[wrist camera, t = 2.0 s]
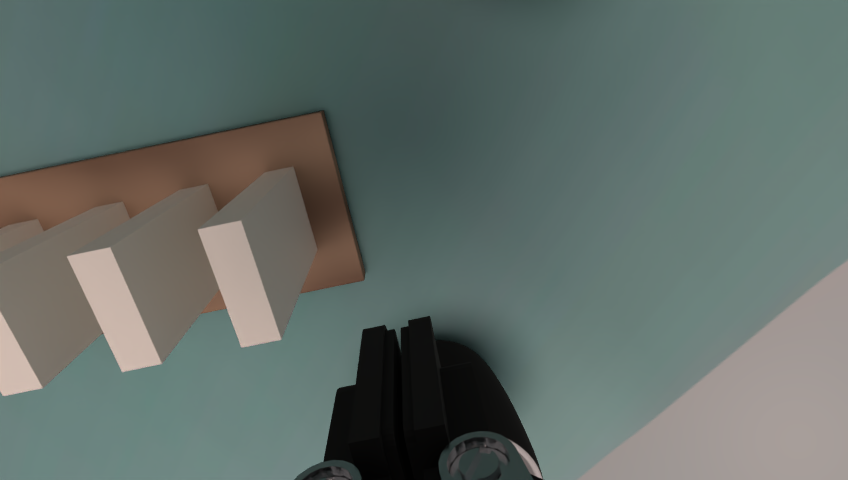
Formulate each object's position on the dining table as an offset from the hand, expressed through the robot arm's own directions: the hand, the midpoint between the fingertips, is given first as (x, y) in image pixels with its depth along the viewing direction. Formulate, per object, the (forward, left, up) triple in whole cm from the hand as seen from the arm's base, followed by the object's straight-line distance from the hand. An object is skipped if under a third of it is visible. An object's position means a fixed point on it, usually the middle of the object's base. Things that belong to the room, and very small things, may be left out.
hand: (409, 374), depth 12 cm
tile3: (0, -16, -17) cm, 23 cm away
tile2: (0, -11, -17) cm, 20 cm away
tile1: (0, -6, -17) cm, 18 cm away
